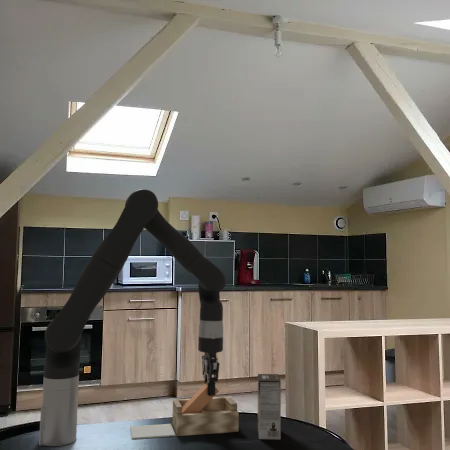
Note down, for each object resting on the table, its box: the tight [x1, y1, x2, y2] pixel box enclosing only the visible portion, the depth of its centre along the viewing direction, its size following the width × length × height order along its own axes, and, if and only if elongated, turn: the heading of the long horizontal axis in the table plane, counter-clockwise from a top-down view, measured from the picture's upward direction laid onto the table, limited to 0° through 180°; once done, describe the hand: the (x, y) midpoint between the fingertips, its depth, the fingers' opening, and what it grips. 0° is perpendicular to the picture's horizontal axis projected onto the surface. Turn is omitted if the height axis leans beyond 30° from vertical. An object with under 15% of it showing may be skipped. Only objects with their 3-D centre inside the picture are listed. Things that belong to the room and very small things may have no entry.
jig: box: [171, 395, 240, 437], centre depth 139 cm, size 18×10×8 cm, turn 104°
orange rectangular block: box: [182, 381, 220, 414], centre depth 139 cm, size 12×4×4 cm
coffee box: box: [257, 373, 282, 440], centre depth 135 cm, size 9×6×16 cm
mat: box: [129, 423, 176, 440], centre depth 135 cm, size 12×10×1 cm
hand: (209, 393), depth 140 cm, fingers closed on orange rectangular block, 4 cm apart
